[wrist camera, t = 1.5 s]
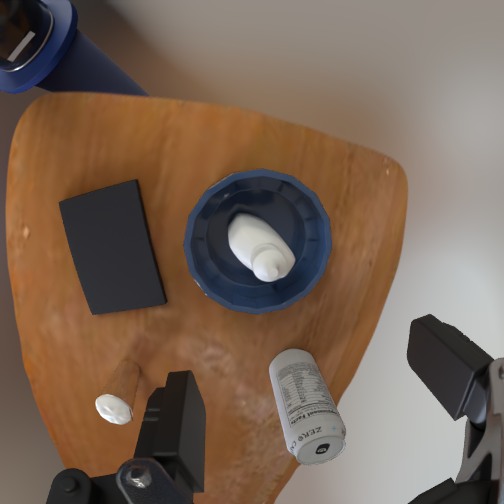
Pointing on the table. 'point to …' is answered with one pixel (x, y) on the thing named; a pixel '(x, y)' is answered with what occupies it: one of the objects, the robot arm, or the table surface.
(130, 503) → the robot arm
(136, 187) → the mat
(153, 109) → the table surface
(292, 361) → the energy drink can
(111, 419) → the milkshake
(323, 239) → the bowl
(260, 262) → the eye dropper bottle
